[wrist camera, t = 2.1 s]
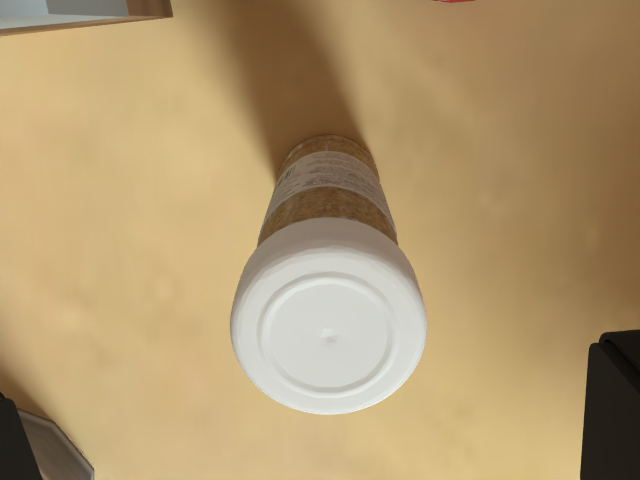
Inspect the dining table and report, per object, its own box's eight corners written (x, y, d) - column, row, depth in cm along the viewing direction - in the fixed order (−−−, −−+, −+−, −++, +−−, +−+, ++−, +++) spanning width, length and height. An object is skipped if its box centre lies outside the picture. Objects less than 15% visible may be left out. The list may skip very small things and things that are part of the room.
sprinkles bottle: (332, 250, 27) (336, 455, 14) (255, 187, 26) (185, 346, 13) (401, 177, 25) (473, 331, 13) (323, 108, 24) (318, 200, 12)
